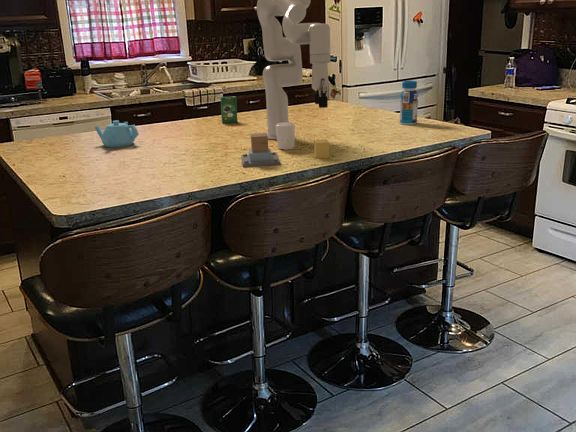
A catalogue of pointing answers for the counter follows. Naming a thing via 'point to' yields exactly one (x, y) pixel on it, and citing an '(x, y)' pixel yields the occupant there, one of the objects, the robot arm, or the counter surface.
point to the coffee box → (229, 109)
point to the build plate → (260, 163)
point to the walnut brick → (259, 142)
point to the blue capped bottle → (408, 103)
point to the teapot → (117, 134)
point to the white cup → (285, 135)
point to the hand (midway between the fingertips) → (321, 105)
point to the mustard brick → (321, 148)
